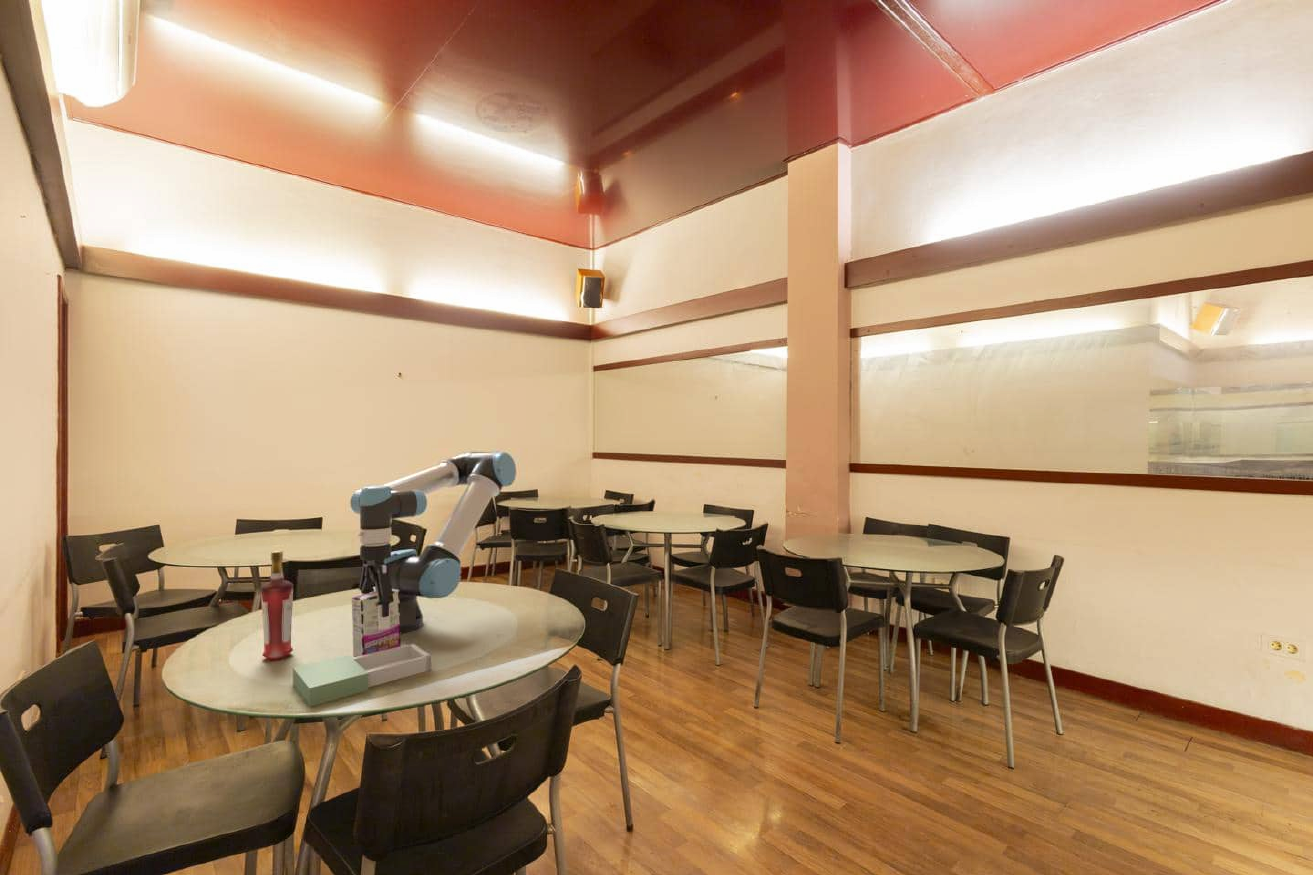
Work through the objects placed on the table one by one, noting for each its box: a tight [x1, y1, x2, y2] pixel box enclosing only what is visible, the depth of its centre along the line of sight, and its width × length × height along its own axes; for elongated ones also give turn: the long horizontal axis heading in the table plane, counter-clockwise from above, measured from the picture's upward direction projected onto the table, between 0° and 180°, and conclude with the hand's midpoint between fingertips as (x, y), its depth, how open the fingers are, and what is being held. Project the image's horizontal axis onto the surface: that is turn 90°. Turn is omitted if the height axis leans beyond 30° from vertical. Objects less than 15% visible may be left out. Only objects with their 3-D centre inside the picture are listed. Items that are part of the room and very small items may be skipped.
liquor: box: [260, 550, 294, 661], centre depth 157 cm, size 7×7×28 cm
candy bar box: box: [351, 589, 402, 658], centre depth 159 cm, size 11×5×16 cm, turn 148°
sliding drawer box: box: [292, 643, 432, 708], centre depth 143 cm, size 16×27×4 cm, turn 133°
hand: (375, 622), depth 159 cm, fingers open, 13 cm apart
